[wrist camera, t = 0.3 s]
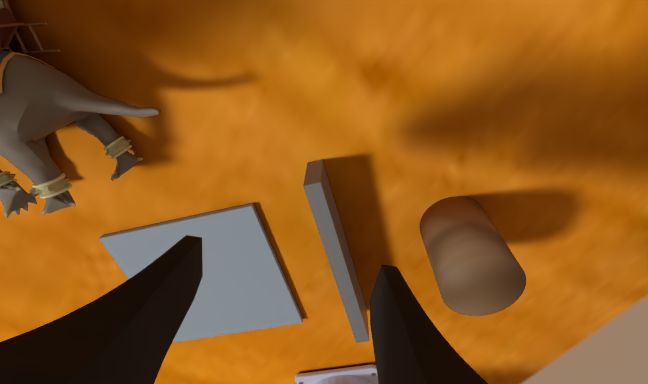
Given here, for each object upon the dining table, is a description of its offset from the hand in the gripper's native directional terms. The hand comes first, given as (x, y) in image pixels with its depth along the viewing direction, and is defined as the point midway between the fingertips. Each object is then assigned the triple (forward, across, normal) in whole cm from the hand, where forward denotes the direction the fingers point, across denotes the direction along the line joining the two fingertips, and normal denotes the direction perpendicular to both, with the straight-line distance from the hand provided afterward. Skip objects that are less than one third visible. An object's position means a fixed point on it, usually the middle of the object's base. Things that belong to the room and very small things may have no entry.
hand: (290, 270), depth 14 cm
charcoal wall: (+10, -3, +6) cm, 12 cm away
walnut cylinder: (+10, -11, +3) cm, 15 cm away
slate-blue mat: (+10, +6, +12) cm, 16 cm away
